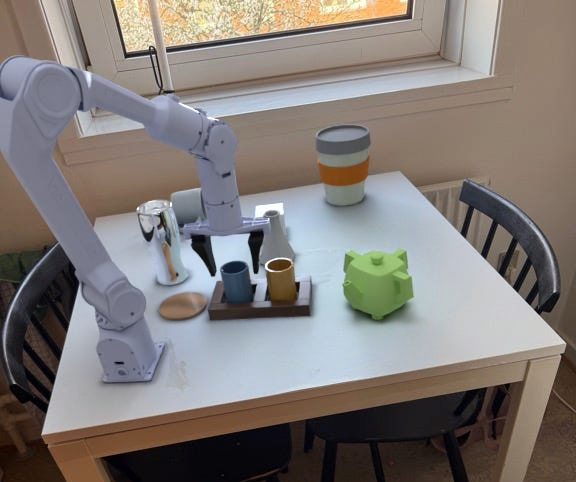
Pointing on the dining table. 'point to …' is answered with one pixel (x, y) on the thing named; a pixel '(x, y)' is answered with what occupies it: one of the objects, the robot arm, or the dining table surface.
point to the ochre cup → (281, 279)
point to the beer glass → (162, 240)
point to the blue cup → (236, 282)
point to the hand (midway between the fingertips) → (235, 272)
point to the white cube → (264, 208)
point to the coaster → (182, 306)
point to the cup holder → (261, 302)
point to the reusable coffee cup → (343, 162)
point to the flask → (275, 240)
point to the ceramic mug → (188, 206)
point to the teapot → (377, 281)
